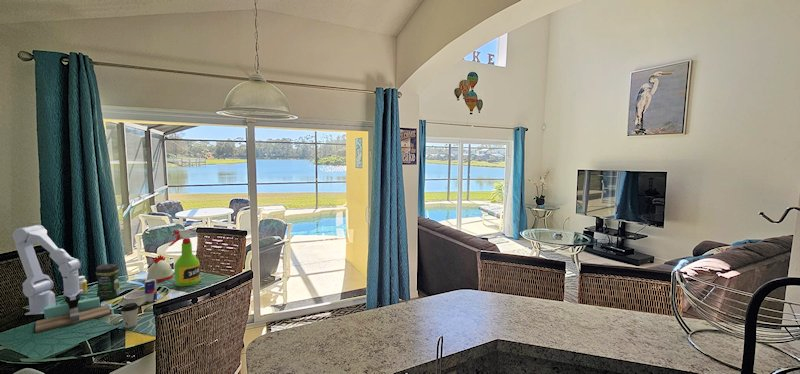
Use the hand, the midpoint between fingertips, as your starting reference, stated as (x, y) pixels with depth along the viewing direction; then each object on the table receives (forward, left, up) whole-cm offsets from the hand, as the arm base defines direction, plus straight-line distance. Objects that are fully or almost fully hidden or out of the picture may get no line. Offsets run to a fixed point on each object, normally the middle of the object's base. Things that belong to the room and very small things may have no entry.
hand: (73, 309), depth 172 cm
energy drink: (-8, +31, -2) cm, 33 cm away
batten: (0, 0, -2) cm, 2 cm away
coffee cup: (+19, +35, -2) cm, 40 cm away
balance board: (+8, +5, -1) cm, 10 cm away
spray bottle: (-33, +38, -2) cm, 51 cm away
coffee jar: (-18, +5, -2) cm, 19 cm away
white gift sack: (-45, +19, -2) cm, 49 cm away
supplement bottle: (-25, -13, -2) cm, 28 cm away
